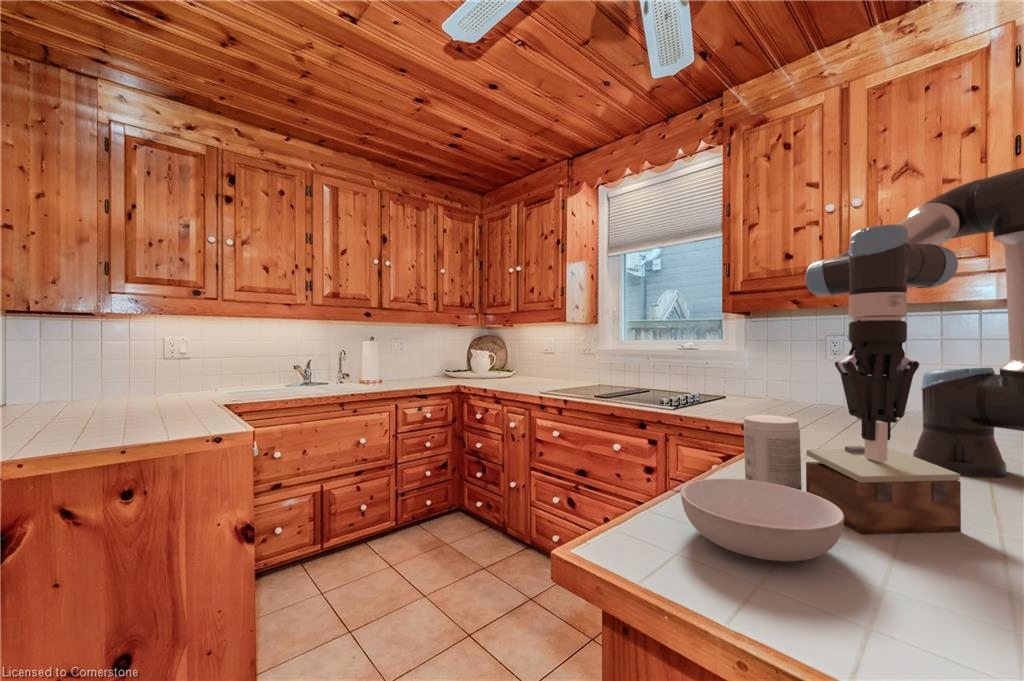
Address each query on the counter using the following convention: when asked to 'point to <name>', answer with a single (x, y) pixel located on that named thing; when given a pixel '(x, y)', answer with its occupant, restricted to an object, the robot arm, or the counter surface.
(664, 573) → the counter surface
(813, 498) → the serving bowl
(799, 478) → the supplement tub
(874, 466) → the lid
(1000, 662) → the counter surface
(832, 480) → the keepsake box
